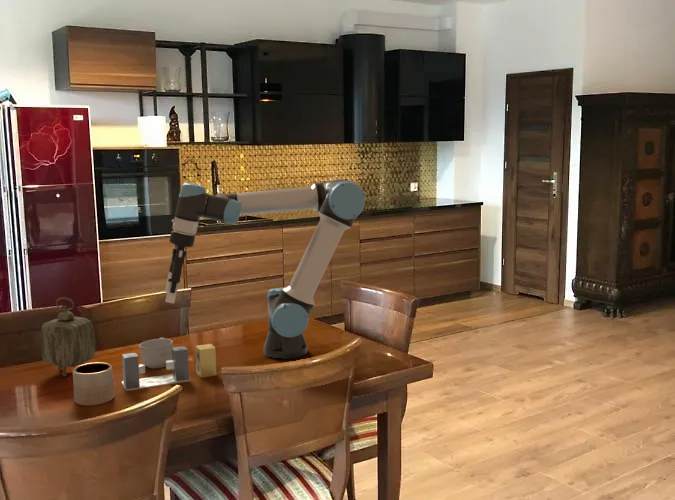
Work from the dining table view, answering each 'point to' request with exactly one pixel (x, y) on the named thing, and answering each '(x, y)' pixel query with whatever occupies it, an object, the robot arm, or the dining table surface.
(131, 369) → the stand
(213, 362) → the block
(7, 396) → the dining table surface
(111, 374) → the planter
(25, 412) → the dining table surface
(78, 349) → the weathered metal cowbell
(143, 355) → the teacup
